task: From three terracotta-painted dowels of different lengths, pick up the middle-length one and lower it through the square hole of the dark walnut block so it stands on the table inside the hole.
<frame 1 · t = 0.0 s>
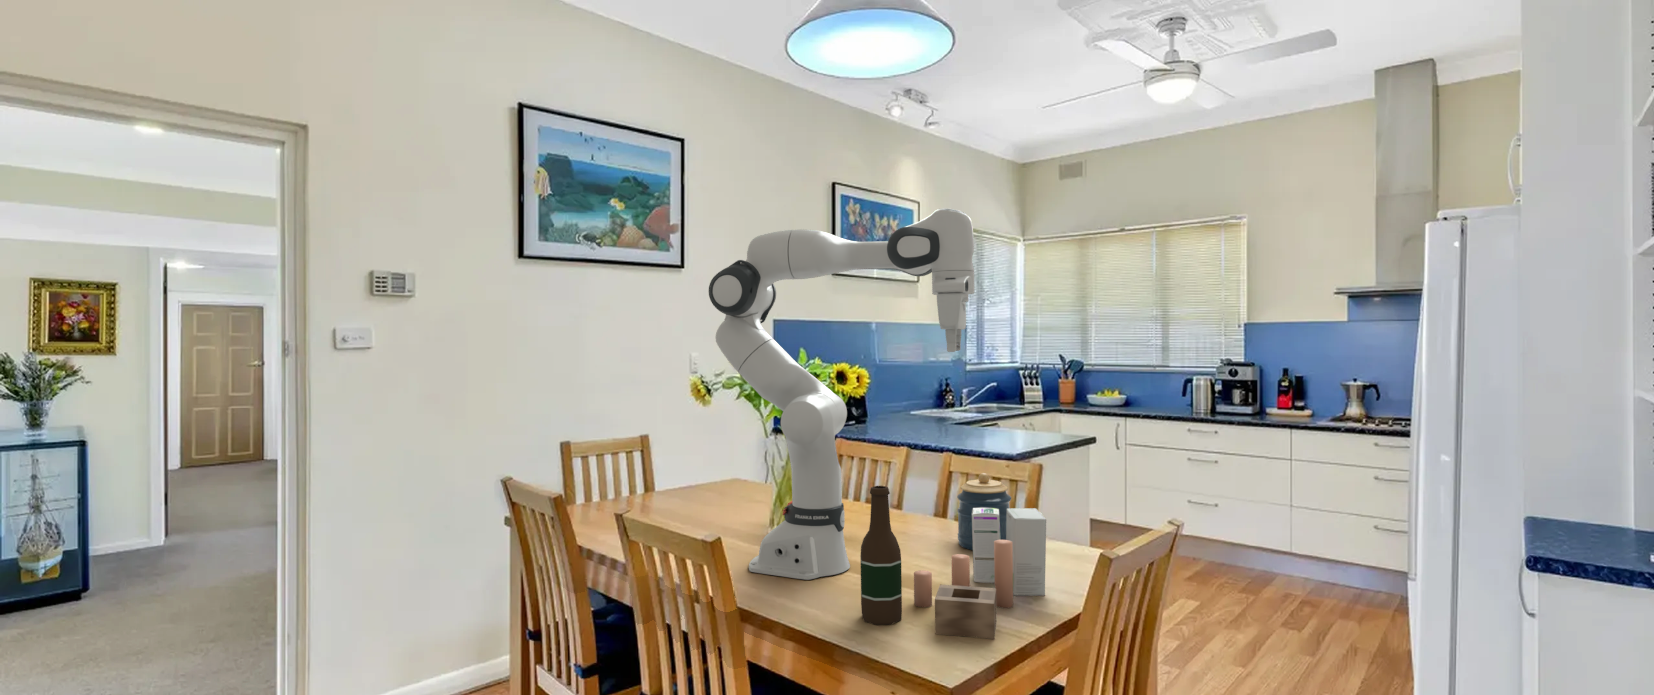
hand: (954, 351, 161), 48 cm above the table, tool pointing down, fingers open, 8 cm apart
skincare box: (1026, 590, 153), on the table
hole block: (966, 627, 134), on the table
pin medium: (961, 603, 146), on the table
beer bottle: (881, 619, 139), on the table
canister: (984, 546, 186), on the table
pin short: (923, 604, 146), on the table
syrup box: (987, 579, 160), on the table
pin long: (1004, 604, 145), on the table
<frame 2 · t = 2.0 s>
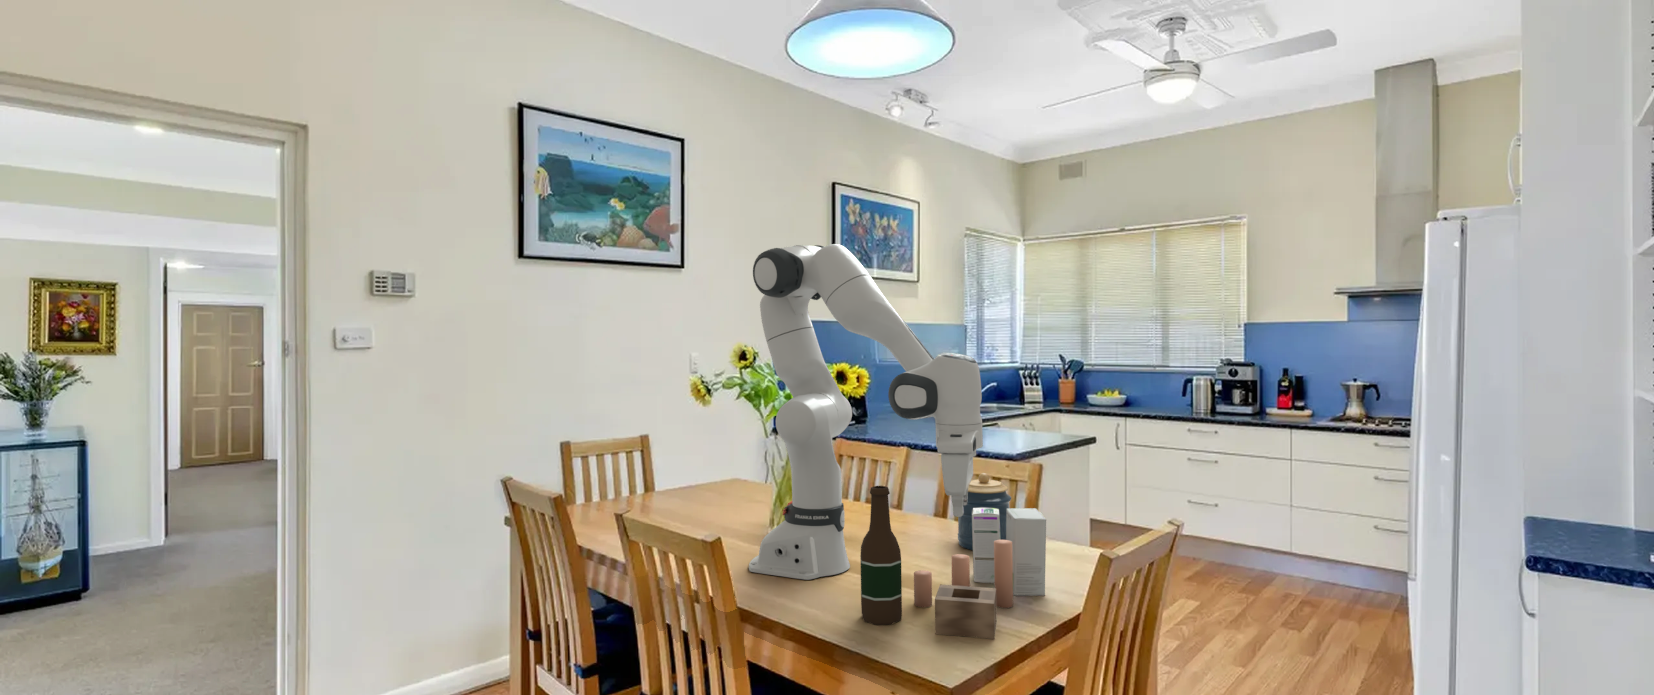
hand: (960, 510, 146), 18 cm above the table, tool pointing down, fingers open, 8 cm apart
nothing on the table moved.
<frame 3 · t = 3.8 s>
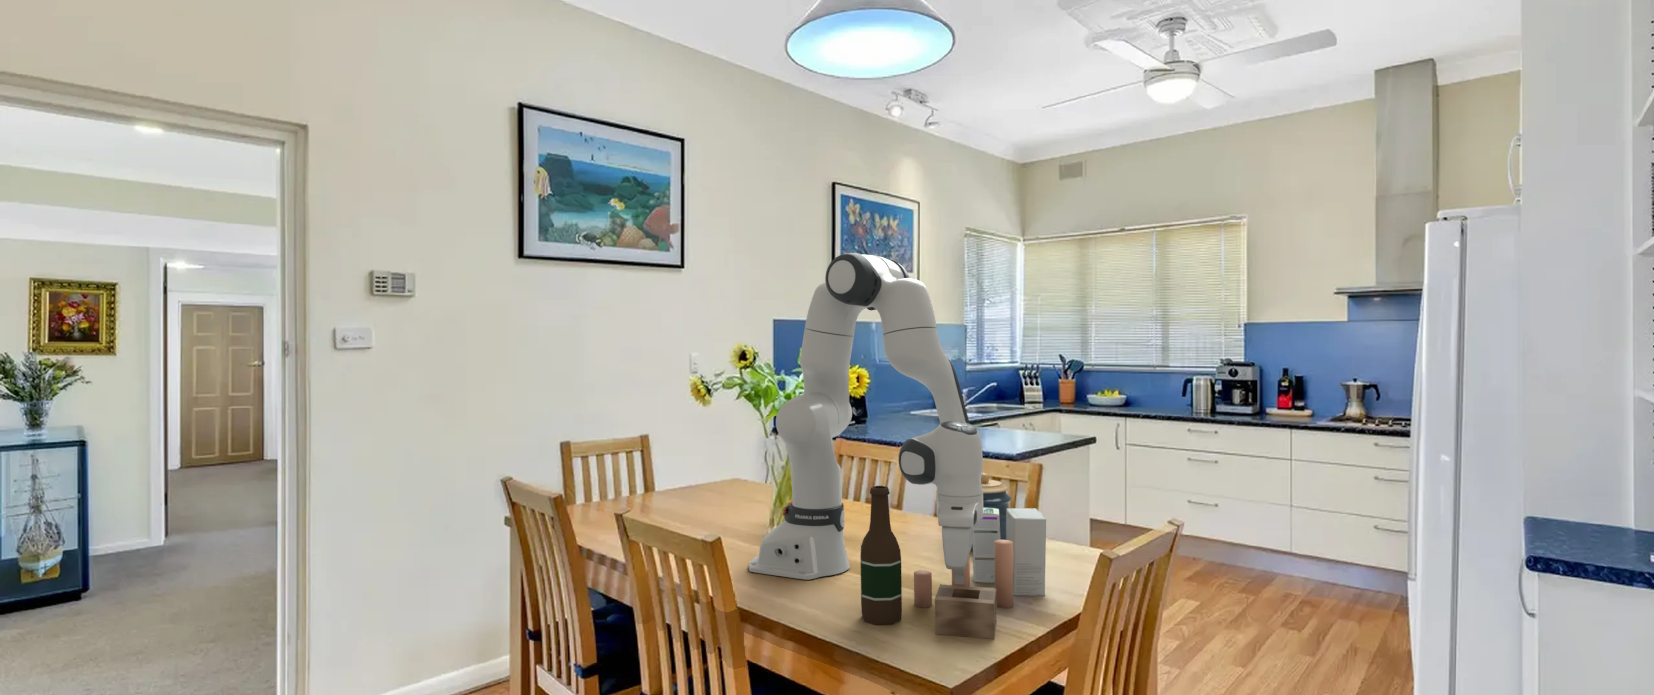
hand: (960, 579, 146), 5 cm above the table, tool pointing down, fingers closed on pin medium, 3 cm apart
pin medium: (961, 603, 146), on the table, touching gripper
everything else where it was.
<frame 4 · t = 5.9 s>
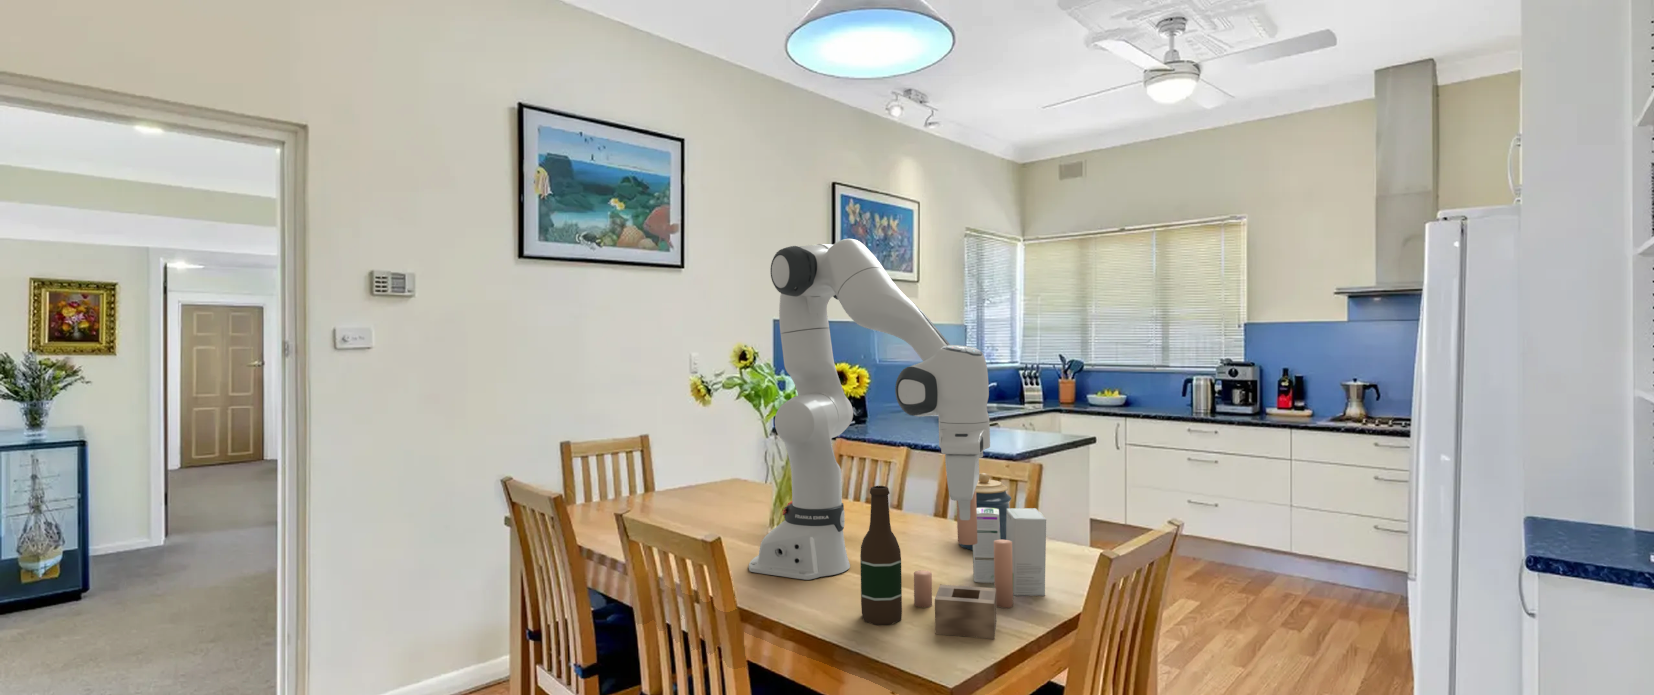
hand: (966, 516, 134), 20 cm above the table, tool pointing down, fingers closed on pin medium, 3 cm apart
pin medium: (967, 542, 134), point 15 cm above the table, touching gripper
everything else where it was.
when the fingers open (7 cm above the table, at t = 8.3 s): pin medium drops 2 cm, resting in hole block.
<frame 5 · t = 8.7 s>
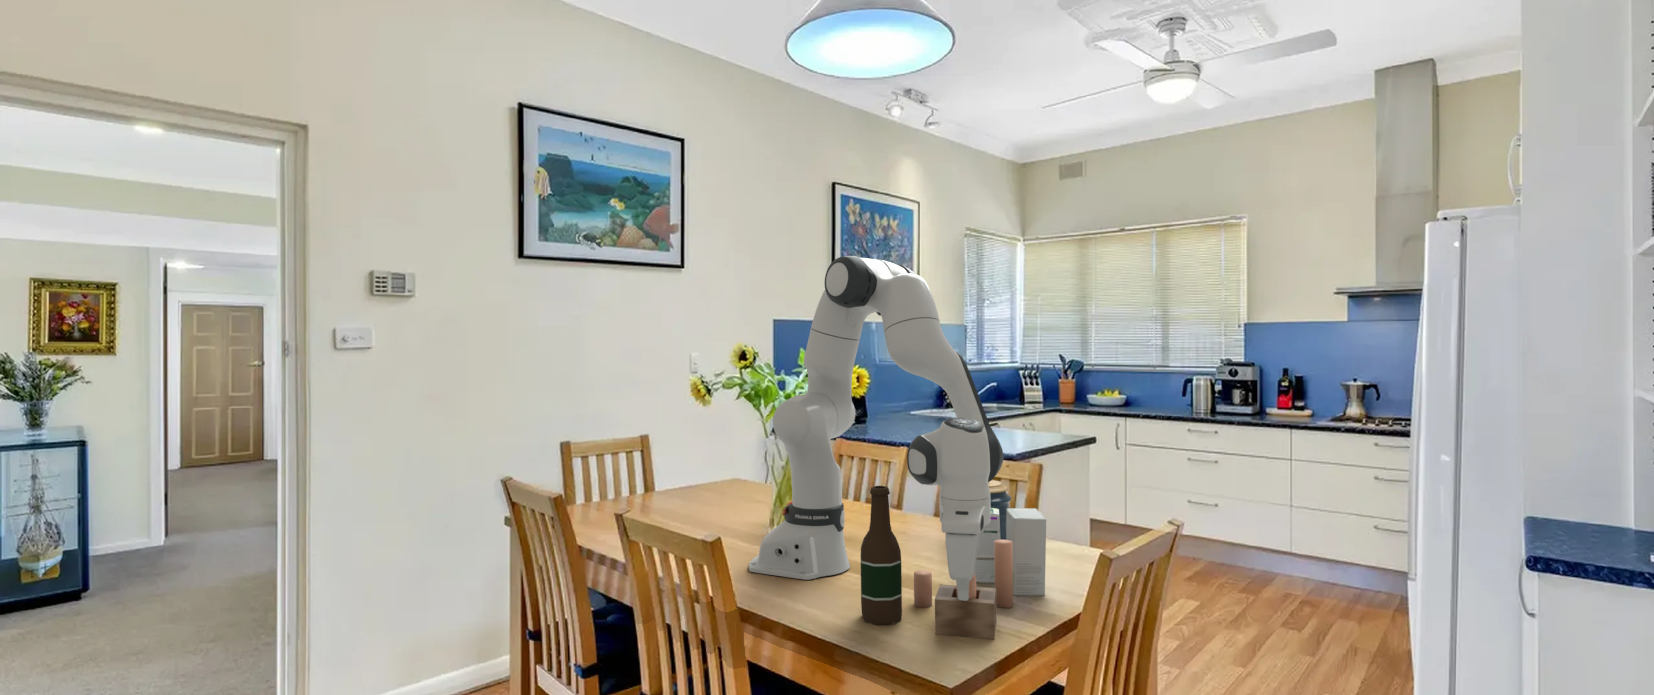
hand: (965, 590, 134), 7 cm above the table, tool pointing down, fingers open, 8 cm apart
pin medium: (966, 627, 134), resting in hole block
everything else where it was.
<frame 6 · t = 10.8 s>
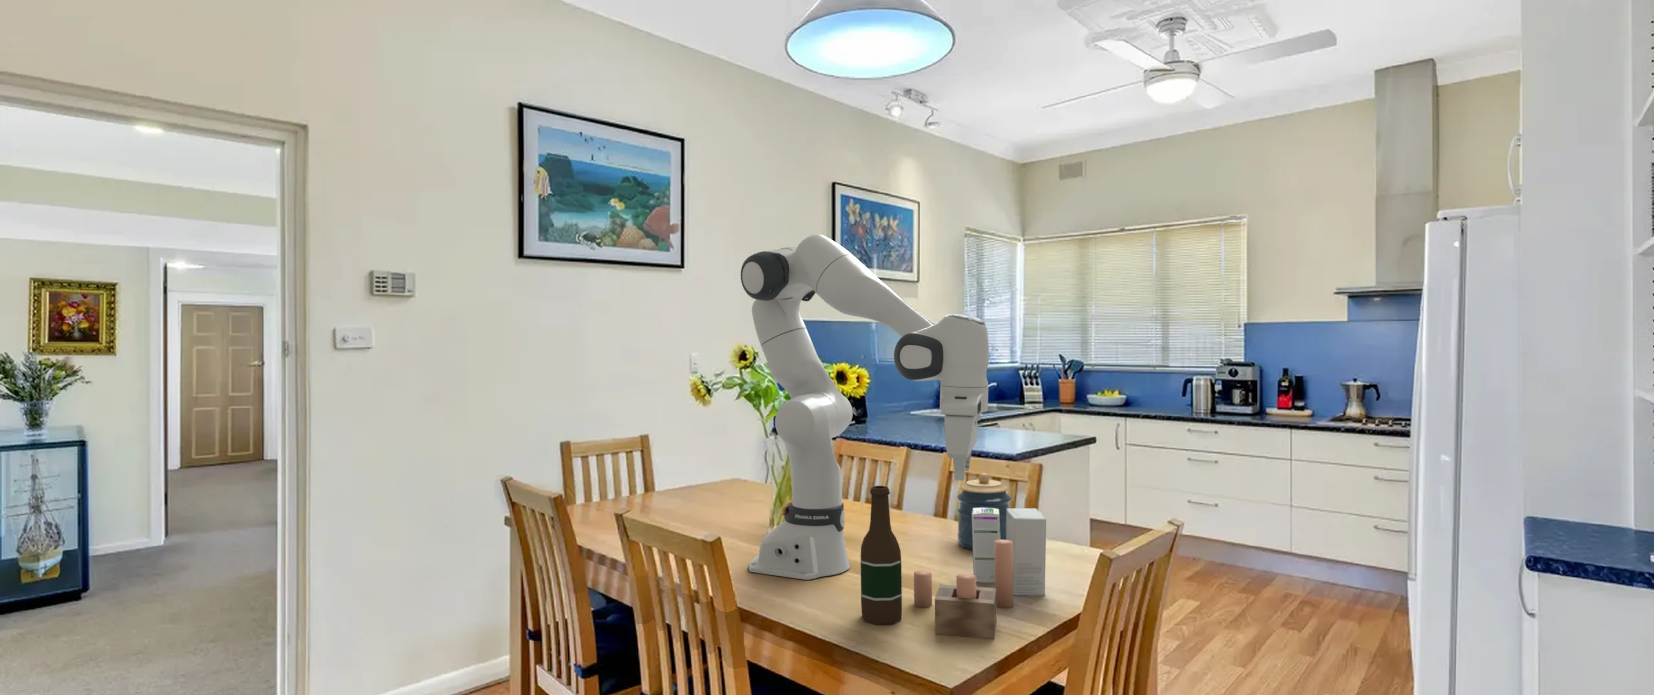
hand: (962, 474, 142), 25 cm above the table, tool pointing down, fingers open, 8 cm apart
nothing on the table moved.
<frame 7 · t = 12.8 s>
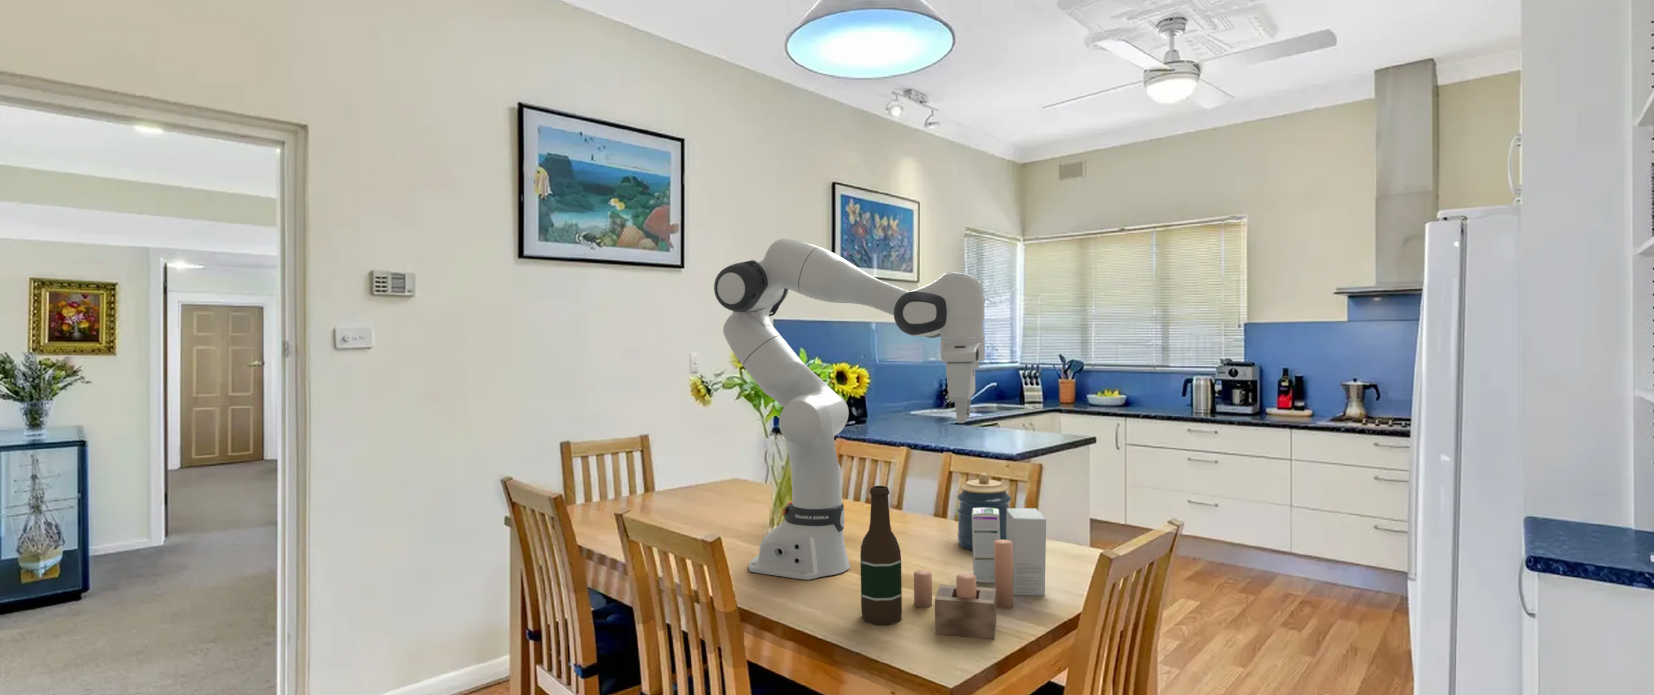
hand: (963, 420, 155), 34 cm above the table, tool pointing down, fingers open, 8 cm apart
nothing on the table moved.
at the end: pin medium 0.1 cm off-centre on the hole block, point 0.0 cm above the hole block's base; pin medium tilted 0°; the gripper is holding nothing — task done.
